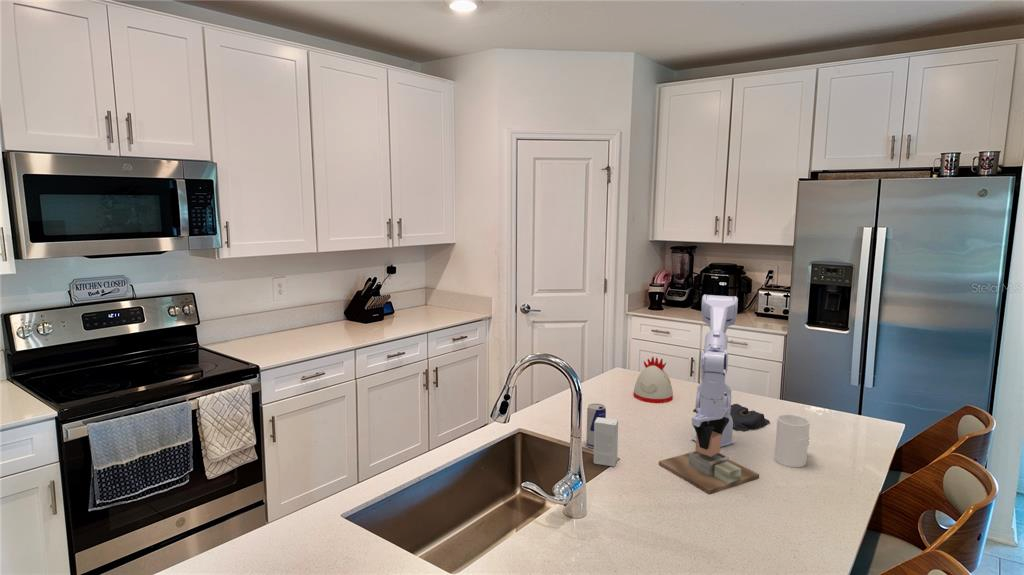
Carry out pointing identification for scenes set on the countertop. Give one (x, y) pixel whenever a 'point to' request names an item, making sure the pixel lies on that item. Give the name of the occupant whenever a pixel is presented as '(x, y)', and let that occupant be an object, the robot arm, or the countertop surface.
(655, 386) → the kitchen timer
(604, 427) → the skincare box
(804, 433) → the mug
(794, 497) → the countertop surface
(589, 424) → the energy drink
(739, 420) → the dark slate chunk
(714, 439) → the terracotta block
